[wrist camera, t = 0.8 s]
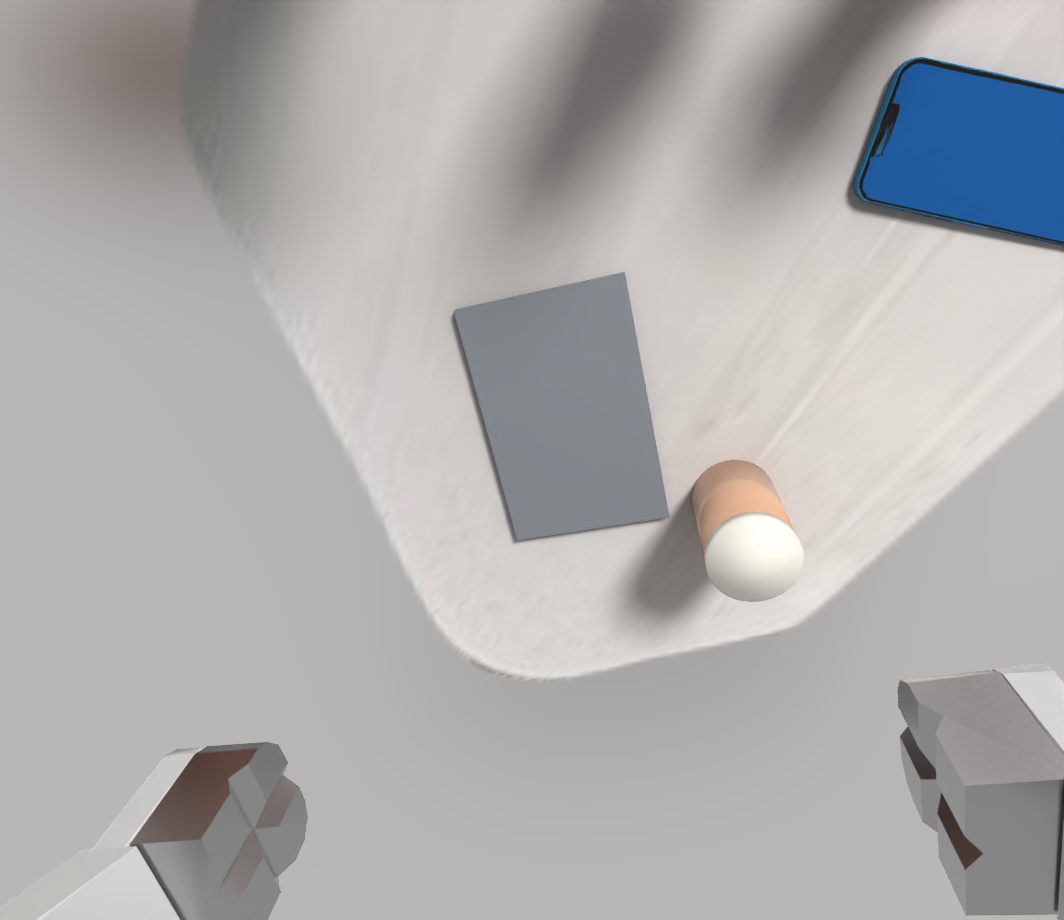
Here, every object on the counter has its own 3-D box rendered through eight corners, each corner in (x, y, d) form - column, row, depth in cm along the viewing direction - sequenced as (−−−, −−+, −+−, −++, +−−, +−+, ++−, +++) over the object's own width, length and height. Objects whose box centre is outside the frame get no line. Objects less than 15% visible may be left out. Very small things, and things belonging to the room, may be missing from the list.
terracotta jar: (686, 467, 48) (699, 528, 40) (769, 453, 47) (799, 513, 39) (698, 536, 50) (712, 607, 42) (778, 525, 49) (807, 595, 41)
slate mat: (455, 309, 45) (453, 311, 45) (624, 272, 43) (624, 273, 43) (518, 536, 52) (517, 540, 51) (668, 513, 50) (669, 517, 49)
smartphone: (1110, 257, 40) (851, 199, 40) (1099, 254, 41) (845, 198, 41) (1186, 114, 37) (905, 52, 37) (1172, 115, 38) (898, 54, 38)
